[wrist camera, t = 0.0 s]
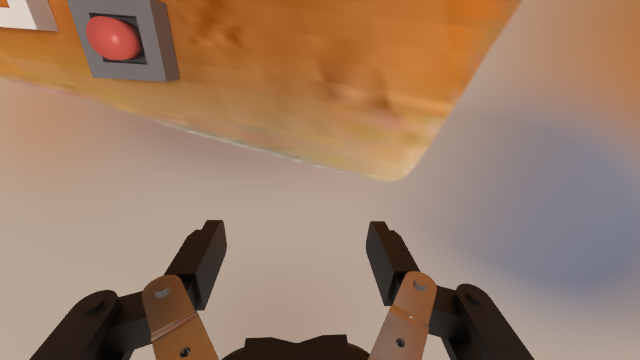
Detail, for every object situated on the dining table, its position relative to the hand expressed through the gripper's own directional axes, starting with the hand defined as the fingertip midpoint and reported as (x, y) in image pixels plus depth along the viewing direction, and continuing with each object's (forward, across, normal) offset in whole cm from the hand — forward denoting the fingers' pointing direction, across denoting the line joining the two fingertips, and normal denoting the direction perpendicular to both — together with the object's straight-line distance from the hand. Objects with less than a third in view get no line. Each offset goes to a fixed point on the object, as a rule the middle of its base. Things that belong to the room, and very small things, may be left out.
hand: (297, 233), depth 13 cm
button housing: (+29, +22, -9) cm, 38 cm away
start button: (+26, +22, -9) cm, 36 cm away
